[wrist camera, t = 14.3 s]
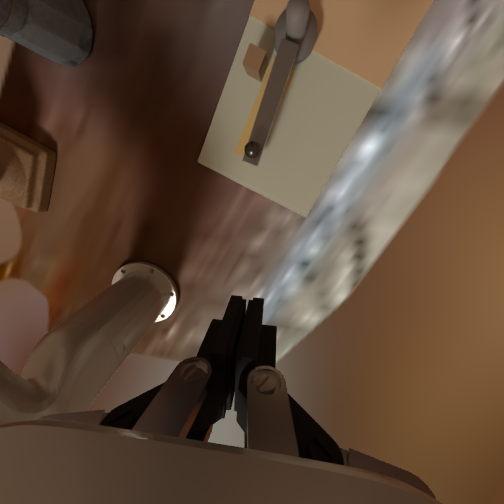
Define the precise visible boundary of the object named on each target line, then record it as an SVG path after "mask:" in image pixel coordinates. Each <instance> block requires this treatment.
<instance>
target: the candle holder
mask: <svg viewBox="0 0 504 504" xmlns="http://www.w3.org/2000/svg"><path fill="white" fill-rule="evenodd" d="M56 161H57V153H56V152H55V151H53V150H52V149H50V148H48V147H47V146H45V145H43V144H41V143H39V142H37V141H35V140H34V139H32V138H30V137H28V136H26V135H24V134H22V133H20V132H19V131H17V130H15V129H13V128H11V127H9V126H7V125H6V124H4V123H2V122H0V197H1V198H2V199H5V200H7V201H9V202H11V203H13V204H15V205H17V206H20V207H22V208H25V209H29V210H31V211H33V212H36V213H40V212H45V211H47V210H48V207H49V203H50V197H51V191H52V185H53V180H54V174H55V168H56Z"/></svg>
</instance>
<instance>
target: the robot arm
mask: <svg viewBox="0 0 504 504" xmlns="http://www.w3.org/2000/svg"><path fill="white" fill-rule="evenodd" d="M177 304H178V291H177V287H176V285H175V283H174V281H173V280H172V278H171V277H170V276H169V275H168V274H167V273H166V272H165V271H164V270H162V269H161V268H160V267H158V266H156V265H154V264H151V263H148V262H142V261H137V262H131V263H128V264H126V265H124V266H122V267H121V268H120V269H119V270H118V271H117V272H116V273H115V275H114V277H113V280H112V286H110V287H109V288H107V289H106V290H105V291H103V292H102V293H101V294H99V295H98V296H97V297H95V298H94V299H93V300H91V301H90V302H88V303H87V304H86V305H84V306H83V307H82V308H80V309H79V310H78V311H76V312H75V313H74V314H72V315H71V316H69V317H68V318H67V319H65V320H64V321H63V322H61V323H60V324H59V325H57V326H56V327H55V328H53V329H52V330H51V331H49V332H48V333H47V334H45V335H44V336H43V337H42V338H41V339H40V340H39V341H38V343H37V344H36V345H35V347H34V348H33V350H32V351H31V353H30V355H29V357H28V359H27V361H26V363H25V366H24V369H23V371H22V375H21V377H20V376H19V375H18V374H15V373H14V372H13V371H12V370H10V369H9V368H8V367H7V366H6V365H5V364H3V363H2V362H1V361H0V504H443V503H441V502H440V501H438V500H436V498H435V495H434V494H433V492H432V491H431V490H430V488H429V487H428V485H426V484H425V483H424V482H423V481H422V480H421V479H420V478H419V477H418V476H416V475H414V474H412V473H411V472H408V471H406V470H404V469H401V468H399V467H396V466H394V465H391V464H388V463H386V462H383V461H381V460H378V459H376V458H373V457H371V456H369V455H366V454H363V453H361V452H359V451H356V450H354V449H351V448H348V451H347V450H344V449H342V448H339V446H338V445H337V444H336V442H335V441H334V440H333V439H332V438H331V437H330V436H329V435H328V434H327V433H326V431H324V429H323V428H322V427H321V426H320V425H319V424H318V423H317V422H315V420H314V419H313V418H312V417H311V416H310V415H309V414H308V413H307V412H306V411H305V410H304V409H303V408H302V407H301V406H300V405H299V404H298V403H297V402H296V401H295V400H294V399H293V398H292V397H291V396H290V395H289V394H288V393H287V388H286V382H285V379H284V376H283V375H282V374H281V372H280V371H278V370H277V369H276V368H275V362H276V331H277V326H270V325H262V318H263V304H264V299H262V298H253V300H249V302H248V306H247V311H246V300H245V299H242V296H233V295H232V296H231V298H230V301H229V303H228V306H227V309H226V312H225V314H224V317H223V320H217V319H213V320H212V322H211V324H210V326H209V328H208V331H207V333H206V335H205V338H204V340H203V342H202V344H201V347H200V349H199V351H198V354H197V356H196V357H190V358H187V359H185V360H183V361H182V362H180V363H179V364H178V365H177V366H176V368H175V369H174V371H173V372H172V373H171V375H170V376H169V378H168V379H167V381H166V382H164V383H163V384H161V385H159V386H157V387H155V388H153V389H151V390H149V391H147V392H145V393H143V394H141V395H139V396H138V397H135V398H133V399H131V400H129V401H128V402H126V403H124V404H122V405H120V406H118V407H116V408H115V409H113V410H112V411H111V412H110V413H106V412H105V410H96V411H87V410H88V408H89V407H90V405H91V404H92V402H93V401H94V400H95V398H96V397H97V395H98V394H99V393H100V392H101V390H102V389H103V388H104V386H105V385H106V384H107V382H108V381H109V380H110V379H111V377H112V376H113V374H114V373H115V372H116V371H117V370H118V368H119V367H120V366H121V365H122V363H123V362H124V361H125V359H126V358H127V357H128V356H129V354H130V353H131V352H132V351H133V349H134V348H135V347H136V345H137V344H138V343H139V342H140V340H141V339H142V338H143V337H144V335H145V334H146V333H147V331H148V330H149V329H150V328H151V326H152V325H153V324H154V322H159V321H162V320H165V319H166V318H168V317H169V316H170V315H171V314H172V313H173V311H174V310H175V309H176V306H177ZM245 314H246V315H245ZM234 392H235V405H234V411H237V422H238V424H239V425H240V427H241V428H242V429H243V431H244V448H240V447H235V446H228V445H222V444H216V443H210V442H208V439H209V437H210V434H211V432H212V428H213V424H214V423H216V422H217V421H218V420H220V419H221V418H224V417H225V413H226V410H231V407H232V402H233V396H234Z"/></svg>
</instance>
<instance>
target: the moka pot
mask: <svg viewBox="0 0 504 504" xmlns="http://www.w3.org/2000/svg"><path fill="white" fill-rule="evenodd" d="M0 35H1V36H3V37H7V38H9V39H11V40H13V41H15V42H17V43H19V44H20V45H22V46H24V47H26V48H28V49H30V50H32V51H34V52H36V53H38V54H40V55H42V56H43V57H45V58H47V59H49V60H51V61H53V62H56V63H58V64H61V65H66V66H76V65H79V64H80V63H82V62H83V61H84V60H85V59H86V58H87V56H88V55H89V52H90V50H91V45H92V37H93V31H92V24H91V20H90V16H89V14H88V11H87V9H86V7H85V4H84V2H83V0H0Z"/></svg>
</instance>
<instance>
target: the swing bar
mask: <svg viewBox="0 0 504 504" xmlns="http://www.w3.org/2000/svg"><path fill="white" fill-rule="evenodd" d="M298 49H299V45H298V44H296V43H293V42H291V41H288V40H286V39H284V38H281V42H280V45H279V48H278V51H277V54H276V57H275V60H274V63H273V66H272V70H271V73H270V76H269V79H268V82H267V85H266V88H265V91H264V94H263V97H262V101H261V104H260V107H259V110H258V113H257V116H256V119H255V122H254V125H253V129H252V132H251V135H250V138H249V141H248V143H247V144H246V145H245V149H244V151H245V153H244V157H243V160H242V161H245V162H248V163H250V164H253V165H255V166H258V165H259V162H260V159H261V156H262V153H263V150H264V147H265V145H266V142H267V139H268V136H269V133H270V130H271V127H272V124H273V122H274V119H275V116H276V113H277V110H278V107H279V104H280V102H281V99H282V96H283V93H284V90H285V87H286V84H287V82H288V79H289V76H290V73H291V70H292V67H293V64H294V62H295V59H296V56H297V53H298Z"/></svg>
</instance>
